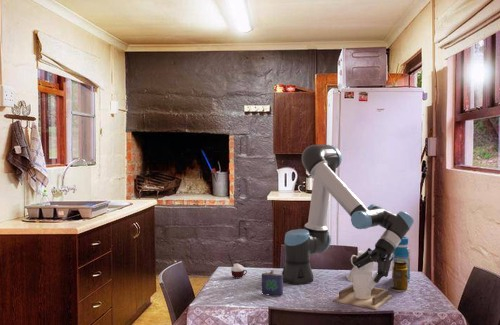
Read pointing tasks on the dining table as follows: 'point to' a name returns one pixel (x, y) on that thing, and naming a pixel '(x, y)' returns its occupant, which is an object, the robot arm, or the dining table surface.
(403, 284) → the condiment
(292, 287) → the dining table surface
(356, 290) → the white cup
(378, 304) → the dock
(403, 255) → the beverage bottle
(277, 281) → the flask
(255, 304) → the dining table surface
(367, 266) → the mug
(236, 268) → the cocoa
